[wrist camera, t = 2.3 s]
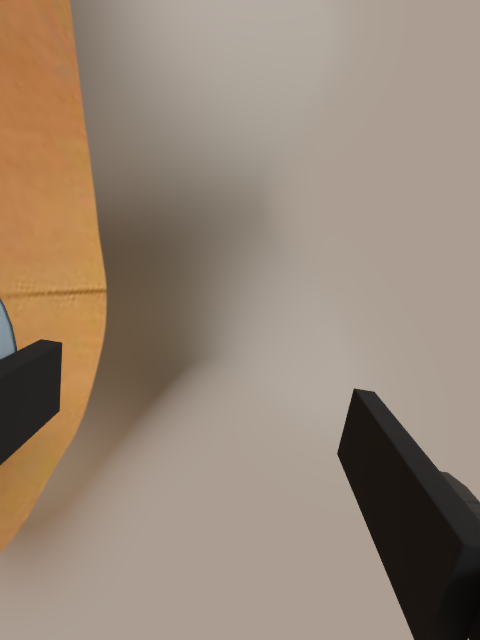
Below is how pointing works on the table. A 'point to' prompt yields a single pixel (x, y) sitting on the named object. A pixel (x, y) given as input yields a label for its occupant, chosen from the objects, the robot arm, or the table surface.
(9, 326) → the desk lamp
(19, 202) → the table surface
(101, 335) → the table surface
